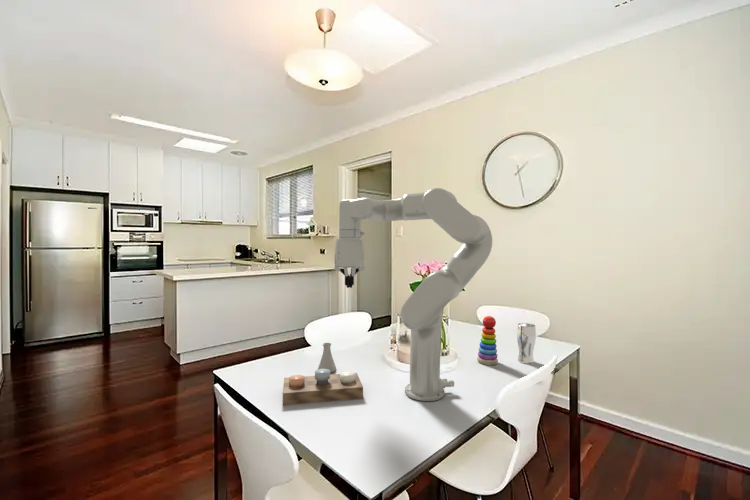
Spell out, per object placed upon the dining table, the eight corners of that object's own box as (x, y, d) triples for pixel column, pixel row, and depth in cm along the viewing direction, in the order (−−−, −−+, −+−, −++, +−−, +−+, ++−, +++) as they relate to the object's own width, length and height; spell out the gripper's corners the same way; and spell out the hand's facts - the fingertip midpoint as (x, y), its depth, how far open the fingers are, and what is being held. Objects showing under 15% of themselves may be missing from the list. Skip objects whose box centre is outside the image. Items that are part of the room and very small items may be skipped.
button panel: (356, 382, 123) (356, 372, 123) (362, 398, 111) (363, 387, 111) (284, 388, 118) (284, 377, 118) (282, 405, 106) (282, 393, 106)
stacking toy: (477, 364, 142) (478, 317, 141) (476, 358, 150) (477, 313, 149) (498, 366, 140) (499, 318, 140) (496, 359, 148) (497, 314, 147)
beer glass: (516, 362, 144) (517, 325, 144) (516, 357, 151) (517, 322, 150) (535, 365, 142) (536, 327, 141) (534, 359, 148) (535, 323, 148)
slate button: (329, 384, 117) (329, 368, 117) (330, 391, 112) (330, 373, 112) (314, 386, 116) (314, 369, 116) (315, 392, 111) (315, 374, 111)
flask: (333, 374, 130) (333, 347, 130) (314, 373, 132) (314, 345, 131) (339, 367, 137) (339, 341, 137) (320, 366, 139) (321, 340, 138)
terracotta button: (304, 391, 116) (304, 374, 115) (304, 397, 111) (304, 380, 111) (288, 392, 115) (289, 375, 114) (288, 399, 110) (288, 381, 110)
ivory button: (353, 387, 119) (353, 371, 119) (355, 393, 114) (356, 376, 114) (339, 388, 118) (339, 372, 118) (340, 394, 113) (341, 377, 113)
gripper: (368, 235, 132) (367, 285, 132) (327, 235, 128) (327, 286, 129) (372, 235, 124) (372, 288, 125) (329, 234, 121) (328, 289, 122)
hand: (349, 287), depth 127 cm, fingers closed
